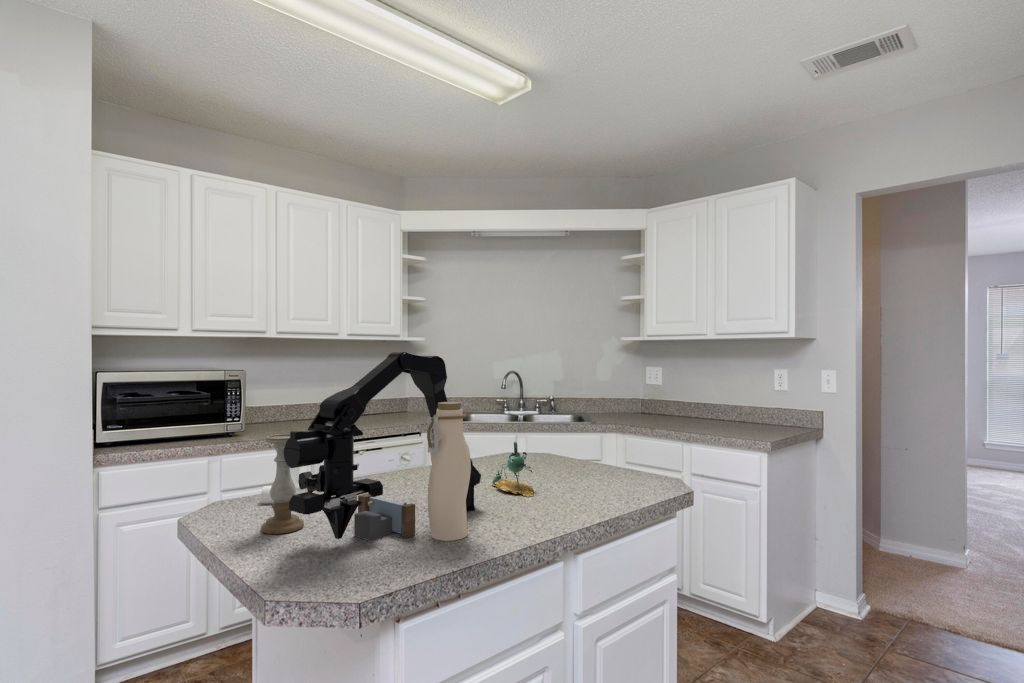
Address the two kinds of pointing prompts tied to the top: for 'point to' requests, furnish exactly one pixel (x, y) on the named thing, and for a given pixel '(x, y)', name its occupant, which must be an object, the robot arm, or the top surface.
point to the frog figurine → (514, 465)
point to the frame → (407, 515)
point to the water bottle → (448, 473)
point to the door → (388, 511)
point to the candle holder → (281, 492)
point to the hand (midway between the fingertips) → (338, 538)
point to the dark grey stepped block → (371, 525)
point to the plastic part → (266, 489)
